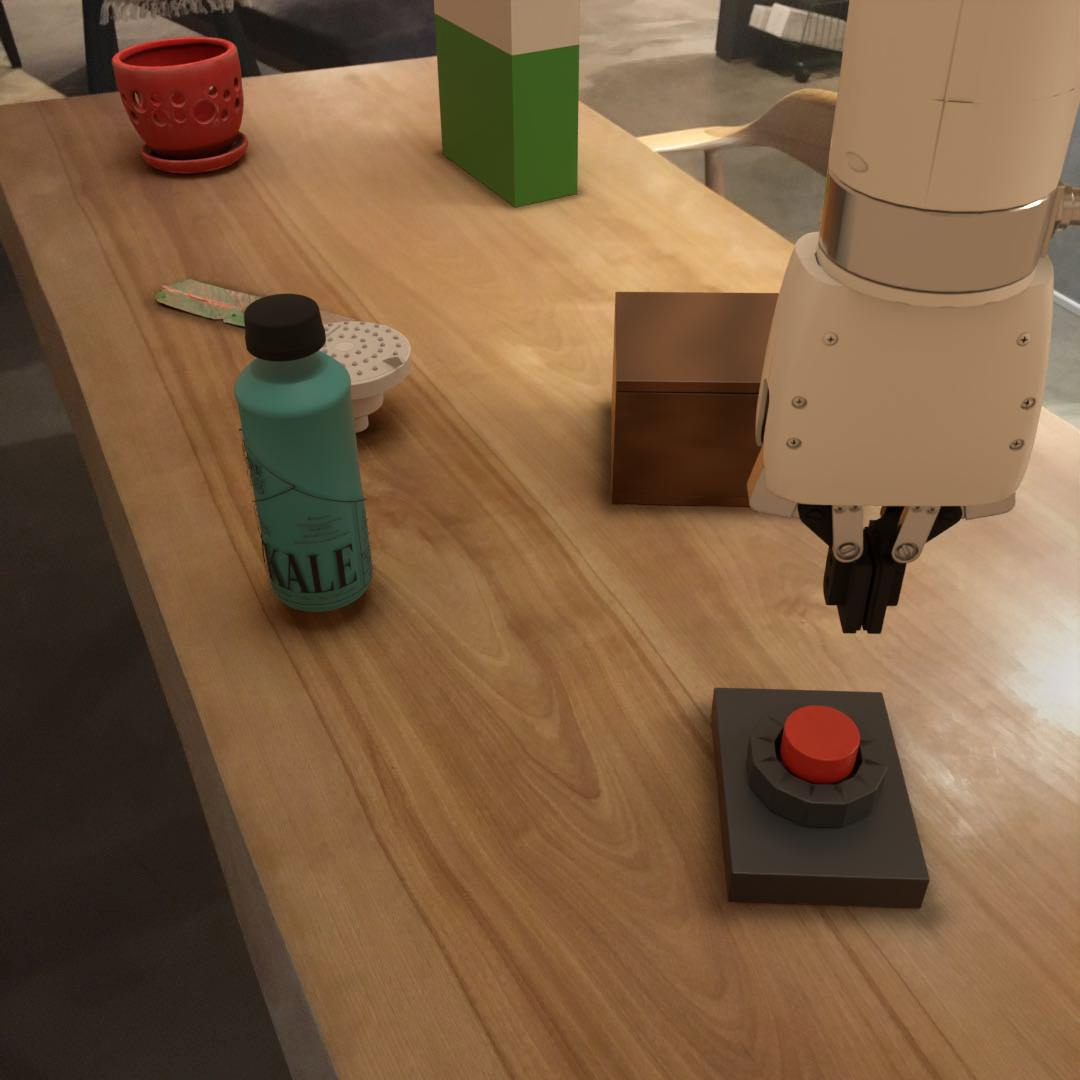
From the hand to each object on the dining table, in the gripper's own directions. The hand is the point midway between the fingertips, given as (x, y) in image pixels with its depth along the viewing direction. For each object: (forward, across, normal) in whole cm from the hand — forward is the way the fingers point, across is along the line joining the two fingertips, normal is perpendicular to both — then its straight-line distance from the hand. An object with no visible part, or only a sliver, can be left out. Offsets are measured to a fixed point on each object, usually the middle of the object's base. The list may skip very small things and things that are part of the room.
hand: (856, 612), depth 52 cm
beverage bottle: (+13, +28, -14) cm, 34 cm away
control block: (+13, +1, 0) cm, 13 cm away
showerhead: (+13, +30, -34) cm, 47 cm away
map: (+13, +42, -52) cm, 68 cm away
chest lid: (+4, +2, -31) cm, 32 cm away
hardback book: (+13, +22, -86) cm, 90 cm away
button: (+9, +1, 0) cm, 9 cm away
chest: (+13, +3, -31) cm, 34 cm away
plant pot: (+13, +57, -89) cm, 106 cm away
